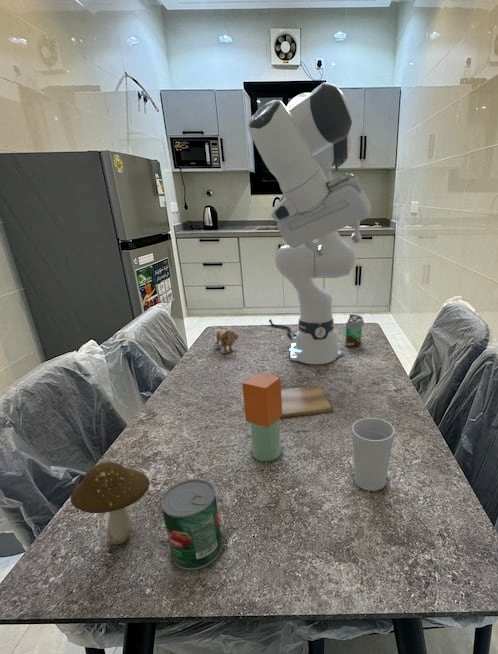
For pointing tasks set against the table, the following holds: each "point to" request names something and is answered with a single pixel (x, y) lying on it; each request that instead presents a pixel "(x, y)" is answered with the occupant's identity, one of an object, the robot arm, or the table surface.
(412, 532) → the table surface
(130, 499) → the mushroom
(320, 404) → the wooden board
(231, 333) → the lion figurine
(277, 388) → the orange block
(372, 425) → the cup
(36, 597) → the table surface
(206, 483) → the canned tomato
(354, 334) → the food container
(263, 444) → the green cup
